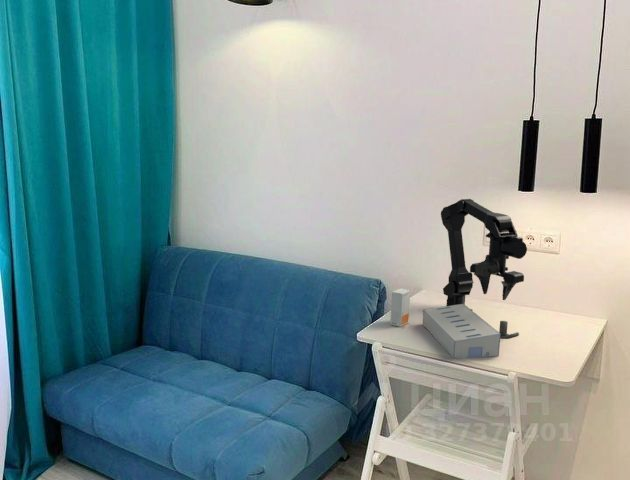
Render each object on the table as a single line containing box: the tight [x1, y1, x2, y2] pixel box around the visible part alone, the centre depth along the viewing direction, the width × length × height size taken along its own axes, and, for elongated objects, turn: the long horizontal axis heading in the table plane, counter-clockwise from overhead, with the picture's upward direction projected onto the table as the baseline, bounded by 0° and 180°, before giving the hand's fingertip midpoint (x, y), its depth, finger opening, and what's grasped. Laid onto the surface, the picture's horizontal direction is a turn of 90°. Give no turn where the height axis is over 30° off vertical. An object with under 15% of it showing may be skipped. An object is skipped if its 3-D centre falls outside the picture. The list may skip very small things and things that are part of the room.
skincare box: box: [390, 287, 411, 328], centre depth 209 cm, size 6×4×12 cm
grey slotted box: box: [422, 304, 501, 359], centre depth 196 cm, size 30×14×8 cm, turn 8°
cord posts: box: [470, 308, 520, 339], centre depth 208 cm, size 8×24×5 cm, turn 34°
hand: (494, 296), depth 205 cm, fingers open, 8 cm apart
